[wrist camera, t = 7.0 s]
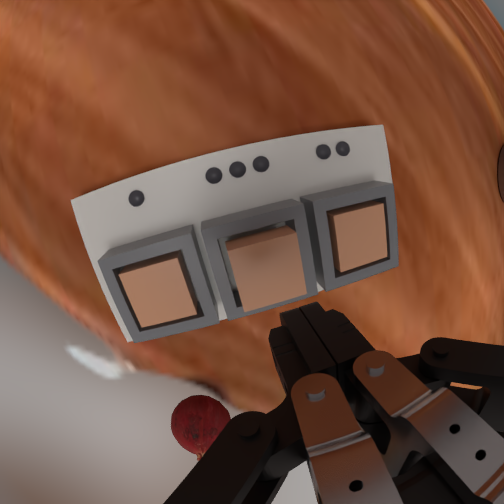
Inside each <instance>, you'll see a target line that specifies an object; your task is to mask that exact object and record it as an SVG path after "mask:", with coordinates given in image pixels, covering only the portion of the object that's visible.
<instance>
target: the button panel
mask: <svg viewBox="0 0 504 504" xmlns="http://www.w3.org/2000/svg"><path fill="white" fill-rule="evenodd" d="M369 200H373V201H376V202H380V203H383V204H384V214H385V226H386V240H387V257H385V258H382V259H379V260H376V261H373V262H370V263H367V264H365V265H362V266H359V267H356V268H353V269H350V270H347V271H343V272H340V271H338V270H337V269H336V268H335V267H334V264H333V256H332V248H331V241H330V233H329V227H328V220H327V214H326V211H328V210H332V209H336V208H340V207H344V206H348V205H352V204H356V203H360V202H365V201H369ZM71 203H72V207H73V210H74V213H75V217H76V220H77V223H78V226H79V229H80V232H81V235H82V238H83V241H84V244H85V247H86V249H87V252H88V255H89V257H90V260H91V263H92V265H93V268H94V270H95V273H96V275H97V278H98V280H99V283H100V285H101V287H102V290H103V292H104V294H105V296H106V299H107V301H108V303H109V305H110V307H111V310H112V312H113V314H114V316H115V318H116V320H117V322H118V324H119V326H120V328H121V330H122V332H123V334H124V336H125V338H126V340H127V342H130V341H133V342H134V343H137V342H142V341H147V340H151V339H156V338H160V337H165V336H169V335H173V334H178V333H182V332H186V331H190V330H194V329H198V328H202V327H206V326H210V325H214V324H218V323H220V322H219V320H223V319H227V318H228V321H229V320H233V319H237V318H241V317H244V316H248V315H251V314H255V313H258V312H262V311H265V310H269V309H272V308H276V307H279V306H282V305H286V304H289V303H292V302H295V301H299V300H302V299H305V298H308V297H311V296H314V295H317V294H318V292H319V291H322V290H325V291H326V292H327V291H330V290H333V289H336V288H339V287H342V286H345V285H347V284H350V283H353V282H356V281H359V280H362V279H365V278H367V277H370V276H373V275H376V274H378V273H381V272H384V271H387V270H389V269H392V268H395V267H397V266H399V265H398V234H397V218H396V205H395V195H394V186H393V183H392V176H391V169H390V162H389V155H388V149H387V143H386V138H385V132H384V127H383V125H372V126H361V127H352V128H343V129H335V130H327V131H320V132H313V133H306V134H300V135H294V136H288V137H282V138H277V139H272V140H267V141H262V142H257V143H252V144H247V145H243V146H238V147H234V148H230V149H225V150H221V151H217V152H213V153H209V154H206V155H202V156H198V157H194V158H191V159H187V160H184V161H180V162H177V163H173V164H170V165H167V166H163V167H160V168H157V169H154V170H151V171H148V172H145V173H142V174H139V175H136V176H133V177H130V178H127V179H124V180H121V181H119V182H116V183H113V184H110V185H108V186H105V187H102V188H100V189H97V190H95V191H92V192H90V193H87V194H85V195H82V196H80V197H77V198H75V199H73V200H71ZM285 225H287V226H288V227H290V228H291V229H292V230H294V231H295V232H296V233H297V238H298V244H299V249H300V255H301V261H302V266H303V272H304V278H305V284H306V291H307V294H305V295H302V296H298V297H295V298H292V299H289V300H285V301H282V302H279V303H275V304H272V305H268V306H265V307H262V308H258V309H255V310H251V311H247V312H244V309H243V306H242V302H241V299H240V295H239V291H238V288H237V284H236V281H235V277H234V274H233V270H232V266H231V263H230V259H229V255H228V252H227V248H226V244H225V241H229V240H232V239H236V238H240V237H244V236H247V235H251V234H255V233H259V232H262V231H266V230H270V229H274V228H278V227H281V226H285ZM177 250H181V253H182V256H183V259H184V262H185V265H186V268H187V272H188V275H189V277H190V280H191V283H192V286H193V289H194V292H195V295H196V298H197V314H196V315H192V316H188V317H184V318H180V319H176V320H172V321H168V322H164V323H160V324H155V325H151V326H147V327H141V325H140V323H139V321H138V318H137V316H136V314H135V312H134V310H133V307H132V305H131V303H130V301H129V298H128V296H127V294H126V291H125V289H124V286H123V284H122V281H121V279H120V277H119V274H120V272H121V271H122V269H123V268H124V267H125V265H128V264H132V263H135V262H139V261H142V260H145V259H149V258H152V257H156V256H159V255H163V254H166V253H170V252H173V251H177Z"/></svg>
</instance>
